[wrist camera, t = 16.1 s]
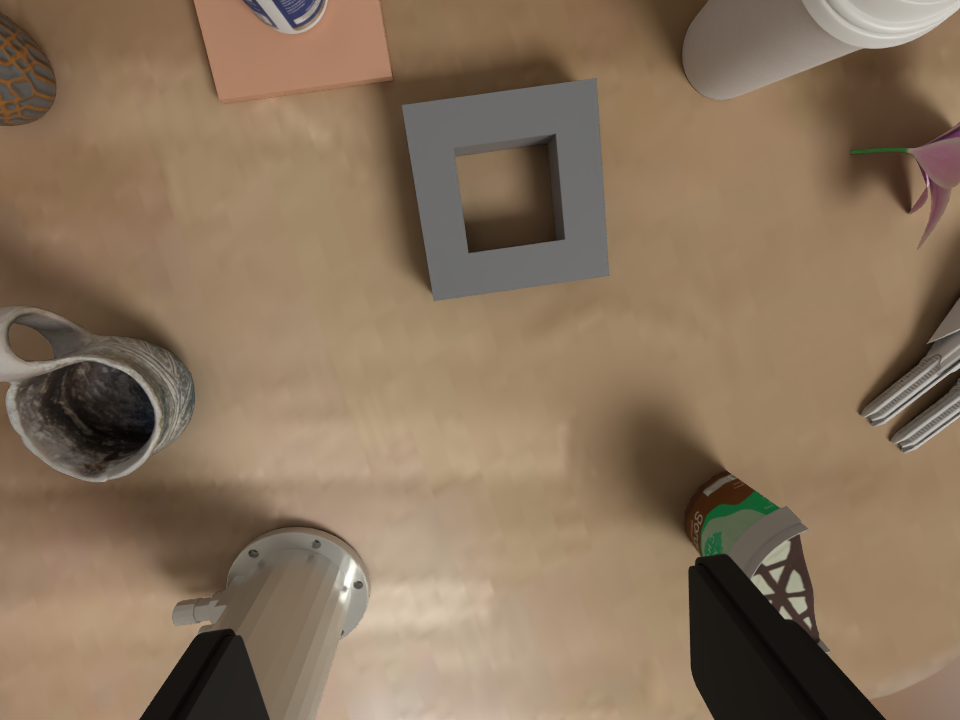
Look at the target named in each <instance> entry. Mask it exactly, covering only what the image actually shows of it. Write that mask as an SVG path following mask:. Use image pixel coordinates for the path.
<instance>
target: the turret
mask: <svg viewBox="0 0 960 720" xmlns="http://www.w3.org/2000/svg"><path fill="white" fill-rule="evenodd" d="M933 341H935V343H934V344H933V346H932V347H931V349H930V350H929V352H928V353H927V356H926V357H925V358H923V359H922V360H921V361H920V363H919V364H918V365H917V366H916V367H914V368H913V369H912V370H911V371H909V372H908V373H907V374H906V375H904V376H903V377H902V378H901V379H899V380H898V381H897V382H896V383H894V384H893V385H892V386H891V387H889V388H888V389H887V390H885V391H884V392H883V393H882V394H880V395H879V396H878V397H877V398H875V399H874V400H873V401H872V402H870V403H869V404H868V406H866V407H865V408H864V409H863V411H862V412H861V414H860V415H862V416H863V417H867V418H869V419H871V420H872V423H871V425H873V426H874V427H876V426H879V425H881V424H884V423H886V422H887V421H889V420H890V419H891V418H893V417H894V416H895V415H897V414H898V413H899V412H900V411H902V410H903V409H904V408H906V407H907V406H908V405H910V404H911V403H912V402H913V401H915V400H916V399H917V398H919V397H920V396H921V395H923V394H924V393H925V392H926V391H928V390H929V389H930V388H932V387H933V386H934V385H936V384H937V383H938V382H939V381H941V380H942V379H943V378H945V377H946V376H947V375H949V374H950V373H951V372H955V371H956V370H958V369H959V368H960V298H959V299H958V301H957V302H956V304H955V305H954V306H953V308H952V309H951V311H950V312H949V313H948V315H947V316H946V318H945V319H944V320H943V322H942V323H941V325H940V326H939V327H938V329H937V330H936V332H935V333H934V334H933V336H932V337H931V339H930V340H929V341H928V343H931V342H933ZM928 343H927V344H928ZM956 383H957V385H956V386H954V387H953V388H952V389H950V391H949V393H948V394H946V395H945V396H944V397H942V398H941V399H940V400H938V401H937V402H936V403H934V404H933V405H932V406H930V407H929V408H928V409H926V410H925V411H924V412H923V413H921V414H920V415H919V416H917V417H916V418H915V419H913V420H912V421H911V422H909V423H908V424H907V425H905V426H904V427H903V428H901V429H900V430H899V431H898V432H896V433H895V434H894V436H893V437H892V439H891V440H890V441H892V442H893V444H896V443H897V444H898V445H901V446H902V448H901V451H903V452H904V451H905V452H904V453H907V452H910V451H912V450H915V449H917V448H918V447H919V446H921V445H922V444H924V443H925V442H926V441H928V440H929V439H930V438H932V437H933V436H934V435H936V434H937V433H939V432H940V431H941V430H943V429H944V428H945V427H947V426H948V425H950V424H951V423H952V422H954V421H955V420H956V419H958V418H959V417H960V378H959V379H958V380H957V382H956ZM867 408H868V409H867Z"/></svg>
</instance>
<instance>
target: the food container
mask: <svg viewBox="0 0 960 720" xmlns="http://www.w3.org/2000/svg"><path fill="white" fill-rule="evenodd" d="M684 524H685V530H686V533H687V535H688V537H689V539H690V541H691V542H692V544H693V545H694V547H695V548H696V550H697V551H698V553H699V554H700V556H701V557H704V556H710V555H717V554H723V553H725V554H727V555H728V556H729V557H731V558H732V560H733V561H734V562H735V563H736V564H737V565H738V566H739V567H740V569H741V570H742V571H743V572H744V573H745V574H746V575H747V577H748V578H749V579H750V580H751V581H752V582H753V583H754V585H755V586H756V587H757V588H758V589H759V590H760V591H761V593H762V594H763V595H764V596H765V597H766V598H767V599H768V600H769V602H770V603H771V604H772V605H773V606H774V607H775V608H776V610H777V611H778V612H779V613H780V614H781V615H782V616H783V618H784V619H791V620H793V621H795V622H797V623H798V624H799V625H800V626H801V627H802V628H803V629H804V630H805V631H806V632H807V633H808V634H809V635H810V636H811V637H812V638H813V640H814V641H815V642H816V643H817V644H818V645H819V646H820V647H821V648H822V649H823V651H824V652H825V653H830V652H831V651H830V650H829V649H828V648H827V646H826V645H825V644H824V643H823V642H822V641H821V639H820V638H819V632H818V630H817V626H816V621H815V615H814V597H813V588H812V584H811V580H810V577H809V574H808V570H807V567H806V563H805V559H804V555H803V550H802V545H801V540H800V533H803V532H805V531H808V530H809V529H808V528H807V527H806V526H804V525H803V524H802V523H801V520H800V519H799V518H798V517H797V516H796V515H795V514H794V513H793V512H792V511H791V510H790V509H789V508H788V507H787V506H786V507H783V508H779V507H778V506H776V505H775V504H773V503H772V502H771V501H769V500H768V499H766V498H765V497H763V496H762V495H761V494H759V493H758V492H756V491H755V490H753V489H752V488H751V487H749V486H748V485H746V484H745V483H743V482H742V481H741V480H739V479H738V478H736V477H735V476H734V475H732V474H731V473H729V472H728V471H725V472H723V473H720V474H718V475H715V476H714V477H712V478H711V479H710V480H708V481H707V482H705V483H704V484H703V485H701V486H700V488H699V489H698V490H697V491H696V493H695V494H694V495H693V496H692V498H691V499H690V502H689V504H688V507H687V509H686V512H685V522H684Z"/></svg>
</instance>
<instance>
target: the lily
mask: <svg viewBox="0 0 960 720" xmlns="http://www.w3.org/2000/svg"><path fill="white" fill-rule="evenodd" d="M874 152H905V153H911V154H913V155H914V157H915V158H916V160H917V162H918V165H919V167H920V169H921V172H922V174H923V177H924V180H925V182H926V189H925V190H924V192H923V193H922V195H921V196H920V198H919V199H918V201H917V202H916V204H915V205H914V206H913V208H912V209H911V211H910V212H909V214H912V213H914V212H915V211H917V210H918V209H919V208H921V207H922V206H923V205H924V203H925V202H926V200H927V198H928V190H927V187H928V185H929V184H930V191H931V212H930V217H929V221H928V224H927V227H926V229H925V232H924V234H923V236H922V238H921V241H920V243H919V245H918V248H917V250H918V249H919V248H920V247H921V245H922V244H923V243H924V241H925V240H926V239H927V237H928V236H929V235H930V233H931V232H932V230H933V229H934V228H935V226H936V224H937V223H938V221H939V219H940V218H941V216H942V215H943V213H944V211H945V208H946V206H947V204H948V202H949V199H950V194H951V190H952V188H953V187H955V186H956V185H958V184H959V183H960V122H959V123H958V124H957V125H956V126H954V127H953V128H951V129H950V130H948V131H947V132H945V133H944V134H942V135H941V136H939V137H937V138H936V139H934V140H932V141H931V142H929V143H927V144H925V145H923V146H921V147H918V148H876V149H863V150H852V151H851V153H850V154H860V153H874Z"/></svg>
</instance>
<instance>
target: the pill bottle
mask: <svg viewBox="0 0 960 720" xmlns="http://www.w3.org/2000/svg"><path fill="white" fill-rule="evenodd" d="M243 1H244V2H245V4H246V5H247V6H248V7H249V8H250V9H251V10H252V12H253V13H254V14H255V15H256V16H257V17H258V18H259V19H260V20H261V21H262V22H263V23H264V24H266V25H267V26H268V27H270V28H272V29H274V30H276V31H278V32H281V33H285V34H298V33H302V32H305V31H307V30H309V29H311V28H312V27H314V26H315V25H316V24H317V23H318V22H319V21H320V19H321V18H322V16H323V14H324V12H325V10H326V6H327V1H328V0H243Z"/></svg>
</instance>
